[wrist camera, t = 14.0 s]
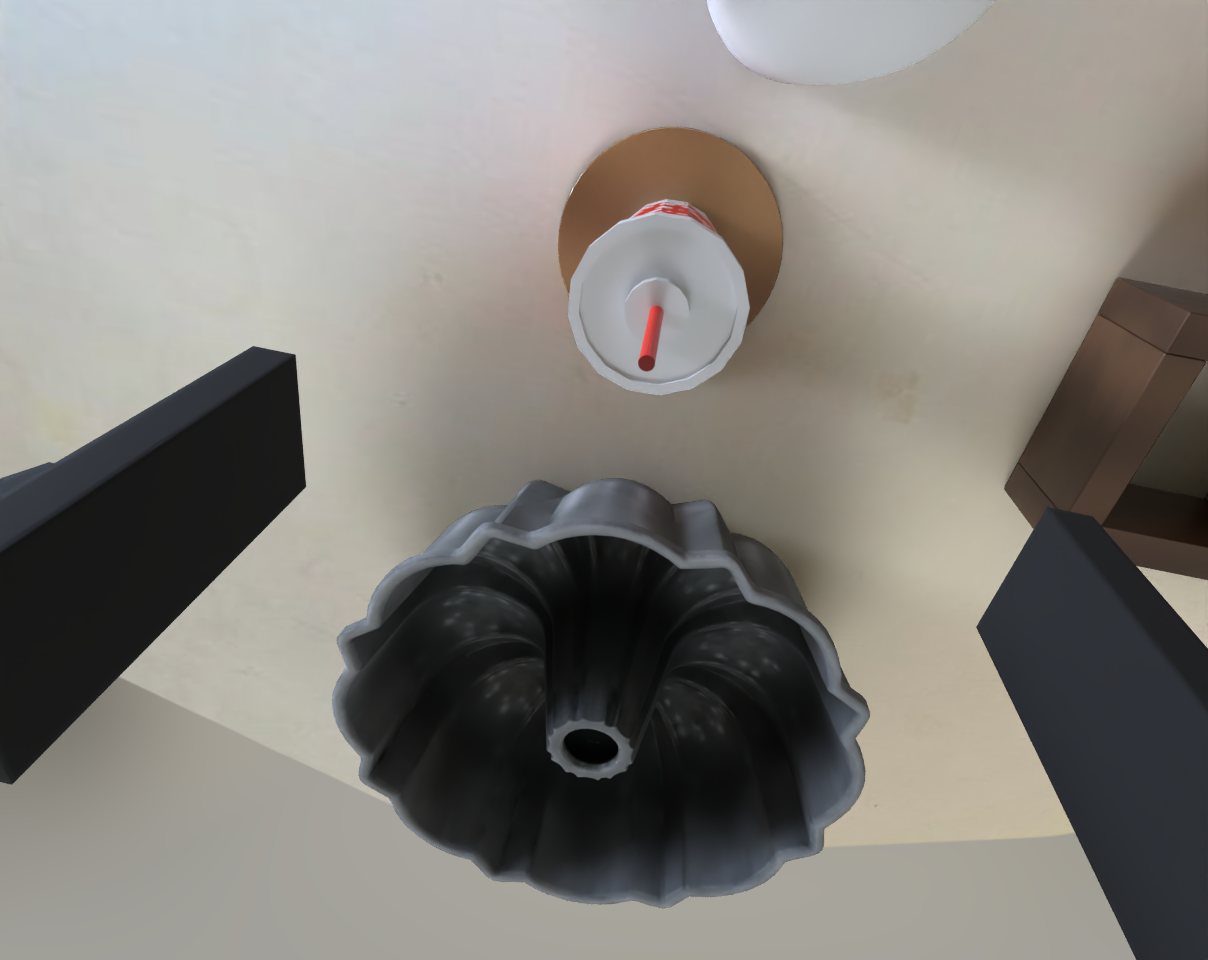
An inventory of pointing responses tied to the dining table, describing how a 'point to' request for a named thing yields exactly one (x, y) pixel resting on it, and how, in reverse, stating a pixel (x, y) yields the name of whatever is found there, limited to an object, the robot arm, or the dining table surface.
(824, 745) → the bundt pan
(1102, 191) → the dining table surface
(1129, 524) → the holder
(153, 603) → the robot arm
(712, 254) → the beverage cup
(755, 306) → the coaster
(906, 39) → the milk bottle
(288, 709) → the dining table surface
